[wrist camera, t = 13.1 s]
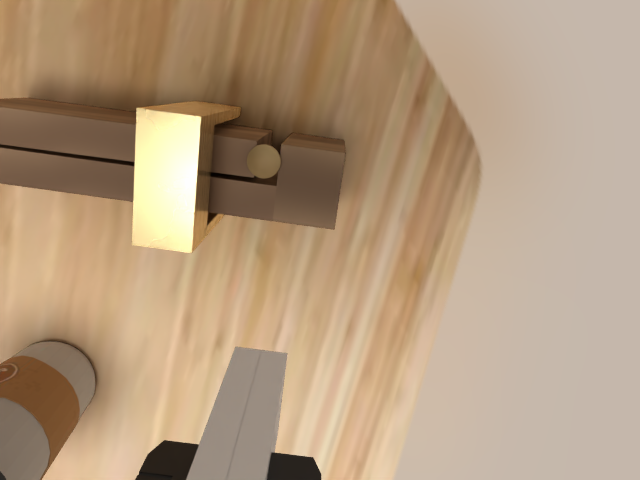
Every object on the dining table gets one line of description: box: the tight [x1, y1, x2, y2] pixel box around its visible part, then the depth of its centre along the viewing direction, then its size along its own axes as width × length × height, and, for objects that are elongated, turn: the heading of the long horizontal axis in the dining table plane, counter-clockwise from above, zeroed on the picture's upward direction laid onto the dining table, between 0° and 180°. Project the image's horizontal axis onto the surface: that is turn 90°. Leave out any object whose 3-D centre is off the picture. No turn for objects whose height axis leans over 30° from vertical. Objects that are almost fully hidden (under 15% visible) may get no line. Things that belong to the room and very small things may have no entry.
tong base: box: [0, 133, 346, 230], centre depth 32 cm, size 4×21×7 cm, turn 82°
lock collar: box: [132, 101, 241, 253], centre depth 31 cm, size 7×3×10 cm, turn 173°
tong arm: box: [0, 98, 273, 178], centre depth 32 cm, size 2×16×7 cm, turn 83°
